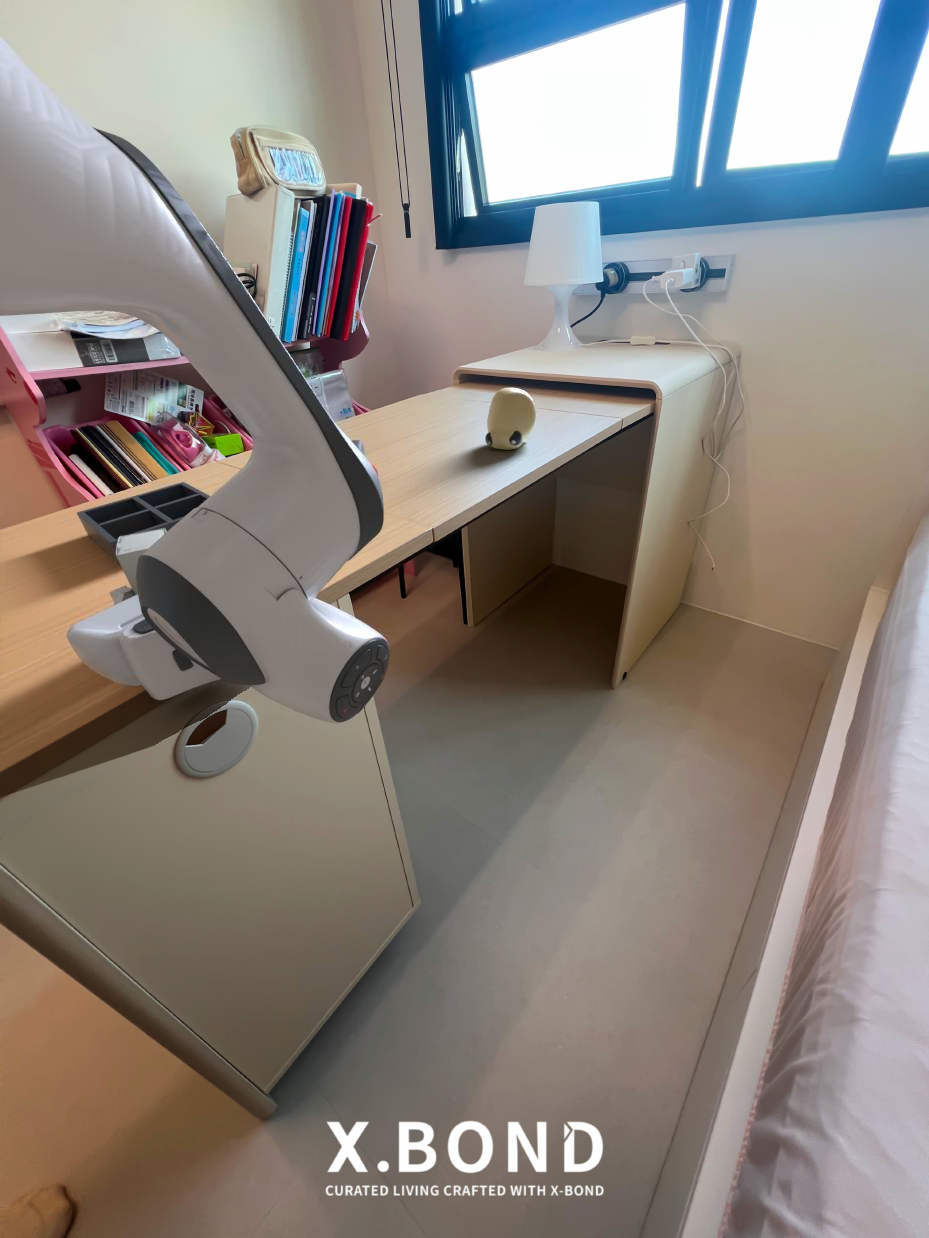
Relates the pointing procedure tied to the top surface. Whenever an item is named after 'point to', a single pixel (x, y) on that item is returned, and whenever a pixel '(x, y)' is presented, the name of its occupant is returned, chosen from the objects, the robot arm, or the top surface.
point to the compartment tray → (140, 514)
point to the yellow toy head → (510, 419)
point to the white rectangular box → (135, 552)
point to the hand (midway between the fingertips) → (154, 579)
